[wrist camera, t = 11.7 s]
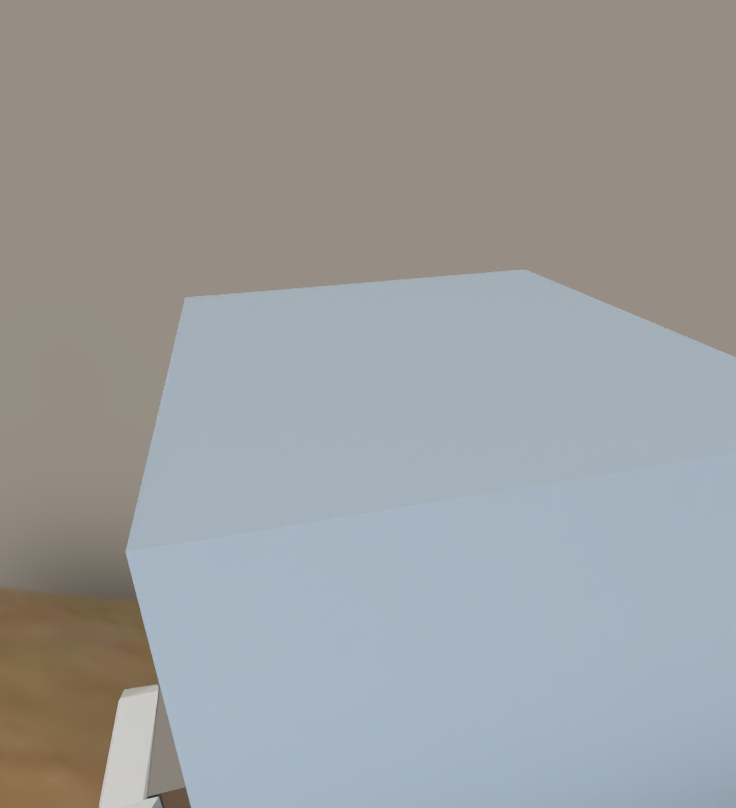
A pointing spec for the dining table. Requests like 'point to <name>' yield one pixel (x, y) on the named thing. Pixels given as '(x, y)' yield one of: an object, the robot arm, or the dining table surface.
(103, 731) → the dining table surface
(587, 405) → the slate box
